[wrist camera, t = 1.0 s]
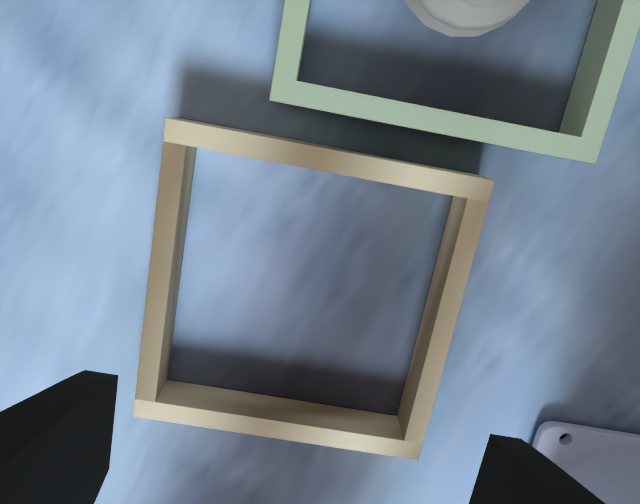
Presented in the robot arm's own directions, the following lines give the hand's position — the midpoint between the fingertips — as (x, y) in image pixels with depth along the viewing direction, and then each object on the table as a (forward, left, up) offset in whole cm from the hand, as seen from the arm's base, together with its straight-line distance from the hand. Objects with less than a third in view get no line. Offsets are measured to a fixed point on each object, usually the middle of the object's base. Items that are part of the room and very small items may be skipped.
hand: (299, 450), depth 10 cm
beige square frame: (0, 0, -9) cm, 9 cm away
